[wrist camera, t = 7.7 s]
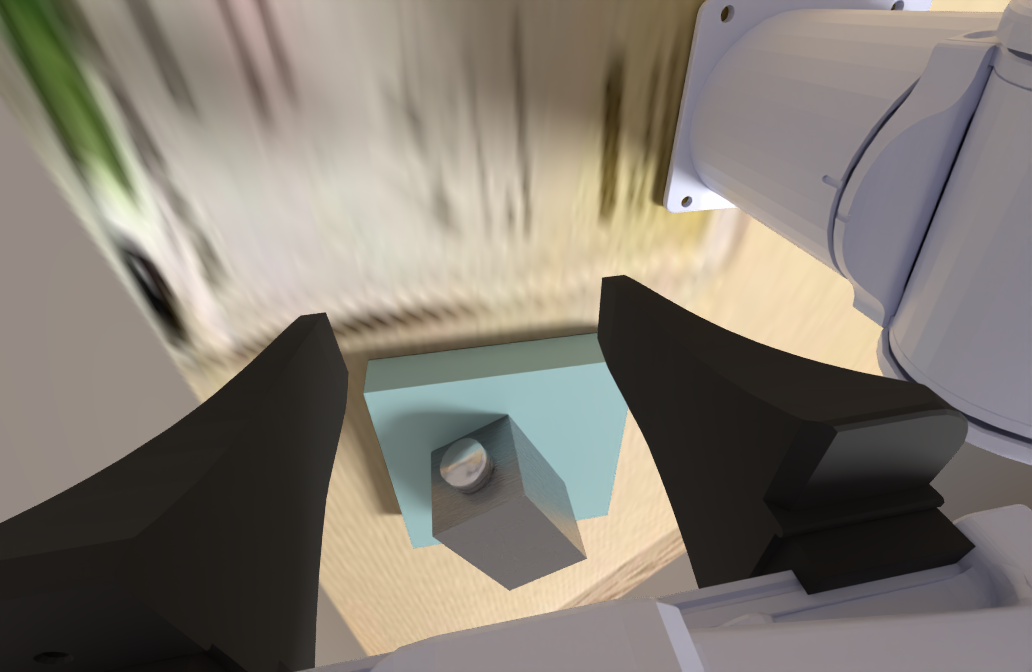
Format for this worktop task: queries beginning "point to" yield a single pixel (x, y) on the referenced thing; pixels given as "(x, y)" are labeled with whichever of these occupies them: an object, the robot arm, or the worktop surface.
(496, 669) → the robot arm
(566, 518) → the housing
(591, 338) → the stand
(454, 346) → the worktop surface
